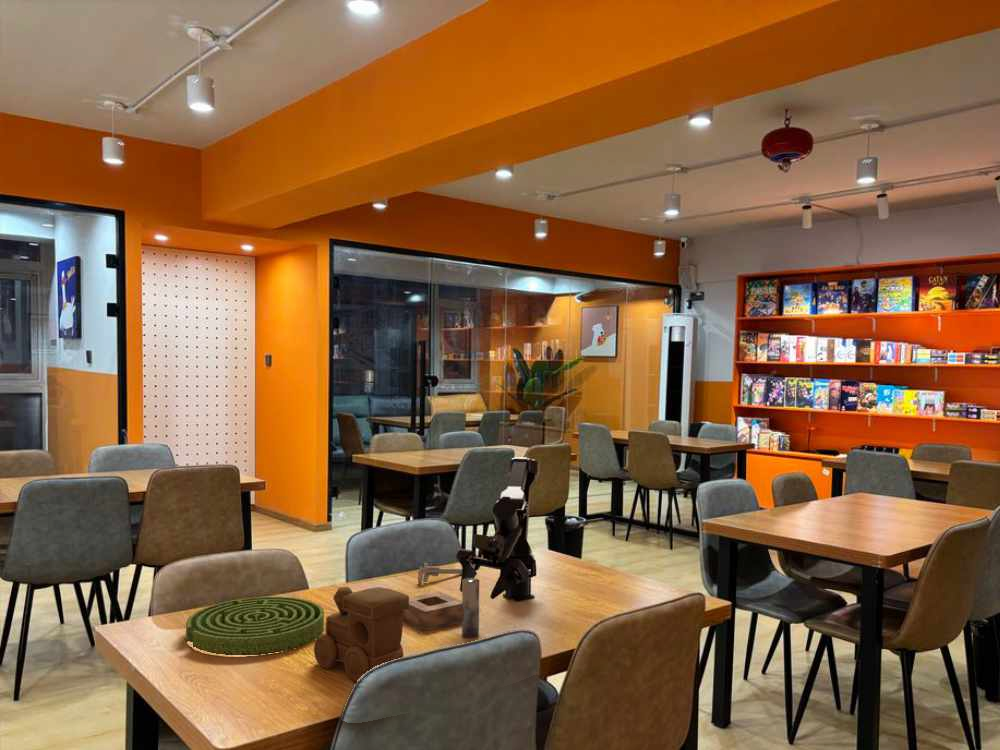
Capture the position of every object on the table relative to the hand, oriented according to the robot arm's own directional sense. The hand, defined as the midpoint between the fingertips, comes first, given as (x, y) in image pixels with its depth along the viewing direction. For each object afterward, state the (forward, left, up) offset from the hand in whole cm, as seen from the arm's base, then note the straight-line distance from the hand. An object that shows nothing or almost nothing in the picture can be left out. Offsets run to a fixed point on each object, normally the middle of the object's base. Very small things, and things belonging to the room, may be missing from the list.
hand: (476, 594), depth 185 cm
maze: (+41, -31, -10) cm, 53 cm away
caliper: (-22, -44, -10) cm, 50 cm away
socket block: (+2, -15, -9) cm, 18 cm away
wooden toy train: (+32, +3, -9) cm, 34 cm away
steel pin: (+2, 0, -9) cm, 9 cm away
